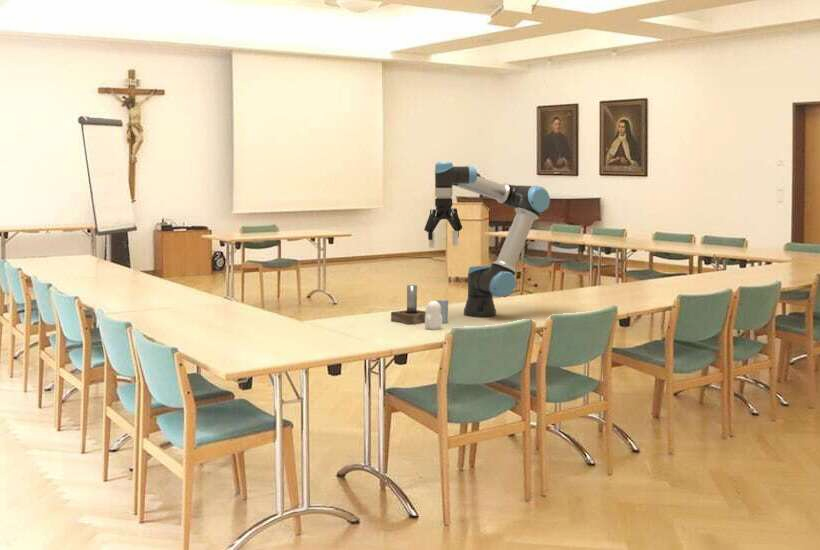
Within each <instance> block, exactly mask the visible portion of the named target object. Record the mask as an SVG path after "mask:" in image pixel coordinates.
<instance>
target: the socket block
mask: <svg viewBox="0 0 820 550" xmlns="http://www.w3.org/2000/svg"><path fill="white" fill-rule="evenodd" d="M425 314H426V310H419V309H417V313H413V314H411V313H407V309H405V310H398V311H391V312H390V321H391V322H395V323H400V324H404V323H405V325H409V324H410V326H411V325H412V324H413V325H418V324H425ZM413 325H412V326H413Z"/></svg>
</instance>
